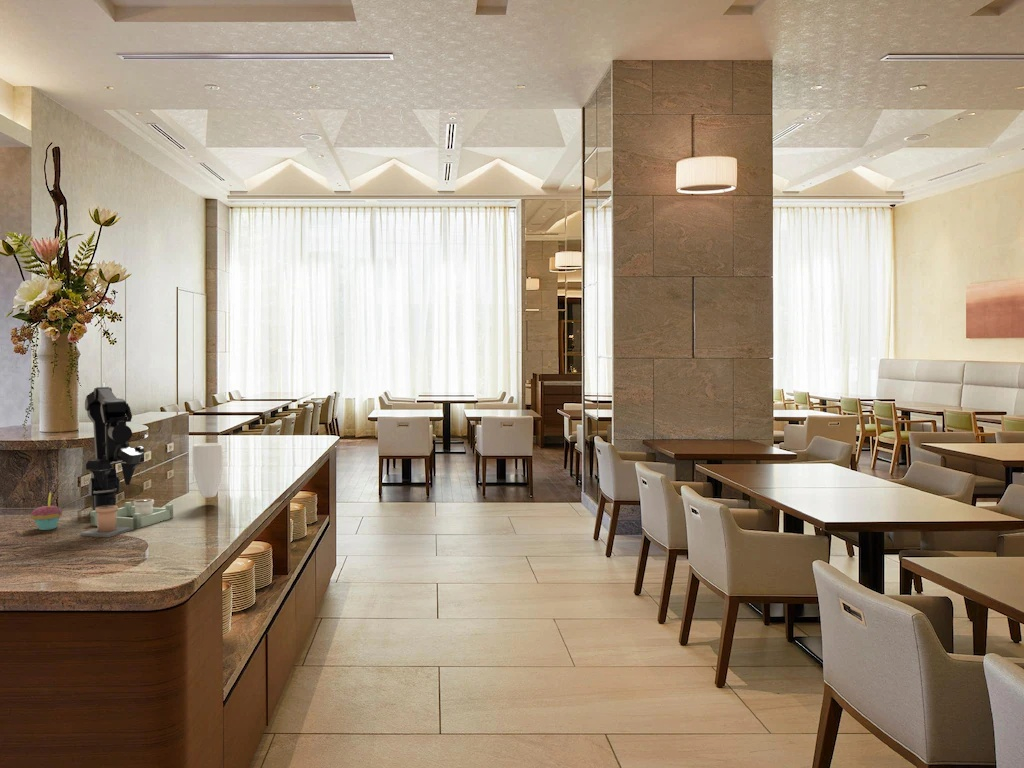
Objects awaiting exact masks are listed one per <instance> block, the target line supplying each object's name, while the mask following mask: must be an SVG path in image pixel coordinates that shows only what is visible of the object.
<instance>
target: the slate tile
mask: <svg viewBox="0 0 1024 768" xmlns="http://www.w3.org/2000/svg"><path fill="white" fill-rule="evenodd" d="M133 530H134V528H133V527H120V526H117V529H116V530H114V531H109V532H98V531H97V528H93V529H89V530H86V531H83V532H80V536H82V537H94V538H95V537H96V538H110V537H111V538H112V537H114V536H117V535H120V534H124V533H128V532H131V531H133Z"/></svg>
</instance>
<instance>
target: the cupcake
mask: <svg viewBox="0 0 1024 768" xmlns="http://www.w3.org/2000/svg"><path fill="white" fill-rule="evenodd" d="M47 498H48V501H47V505H43V506H39V507H36V508H35V509H33V510H32V511H31V513H30V516H29V517H30V518H31V520H34V521H35V524H36V526H37V528H38V530H39V531H40V530H41V531H43V530H44V531H46V530H49V531H50V530H54V529H56V528H57V527H58V523H59V521H60V518H61V516H63V510H62V509H61V508H59V506H56V505H51V501H52V491H51V490H50V491H49V493H48V497H47Z"/></svg>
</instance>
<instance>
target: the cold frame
mask: <svg viewBox="0 0 1024 768" xmlns="http://www.w3.org/2000/svg"><path fill="white" fill-rule="evenodd" d="M89 515H90V526H95V527H96V526H97V513H96V511H95V510H94V511H93V510H90V511H89ZM131 516H132V517H131ZM170 518H171V519H174V504H170V503H169V504H165V507H153V514H150V515H146V516H143V517H141V513H135V506H134V505H133V501H126V502H124V506H123V507H120V508H118V511H116V520H117V526H120V527H133V529H141V528H144V527H147V526H151V525H155V524H157V523H161V522H163V520H164V521H167V520H170ZM160 521H161V522H160Z"/></svg>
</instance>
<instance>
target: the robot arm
mask: <svg viewBox="0 0 1024 768" xmlns="http://www.w3.org/2000/svg"><path fill="white" fill-rule="evenodd" d="M84 410H85V412H86V414H87V415H86V416H87V417H88V418H89V420H90V421H91V422H92V424H93V440H94V454H95V455H94V457H95V458H94V459H88V460H87V461H86V462H85V470H88V471H89V472H91V474H90V475H91V477H90V478H89V482H88V491H87V492H88V495H89V496H90V497H92V511H94V510H95V508H96V507H99V506H105V505H116V498H115V494H119V493H120V484H121V479H120V478H119V476H118V475H117V470H116V468H115V467H114V466H113V465H118V464H120V465H121V469H122V476H123V479H124V483H125V486H129V485H130V484H131V481H132V477H133V475H134V472H135V470H136V468H138V467H139V466H140V465H142V462H145V448H144V447H143V446H141V445H140V446H137V447H130V443H129V441H130V440H131V439H132V437H133V432H132V429H131V427H130V426H128V425H127V423H129V422H132V419H133V414H132V410H131V407H130V405H129V403H127V401H126V400H125V399H124V398H118V397H117V396H116V395H115V394H114V393H113V390H112V387H110V386H97V387H95V388H94V389H93V391H91V392H90V393H88V394H86V396H85V401H84ZM95 511H96V510H95Z"/></svg>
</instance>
